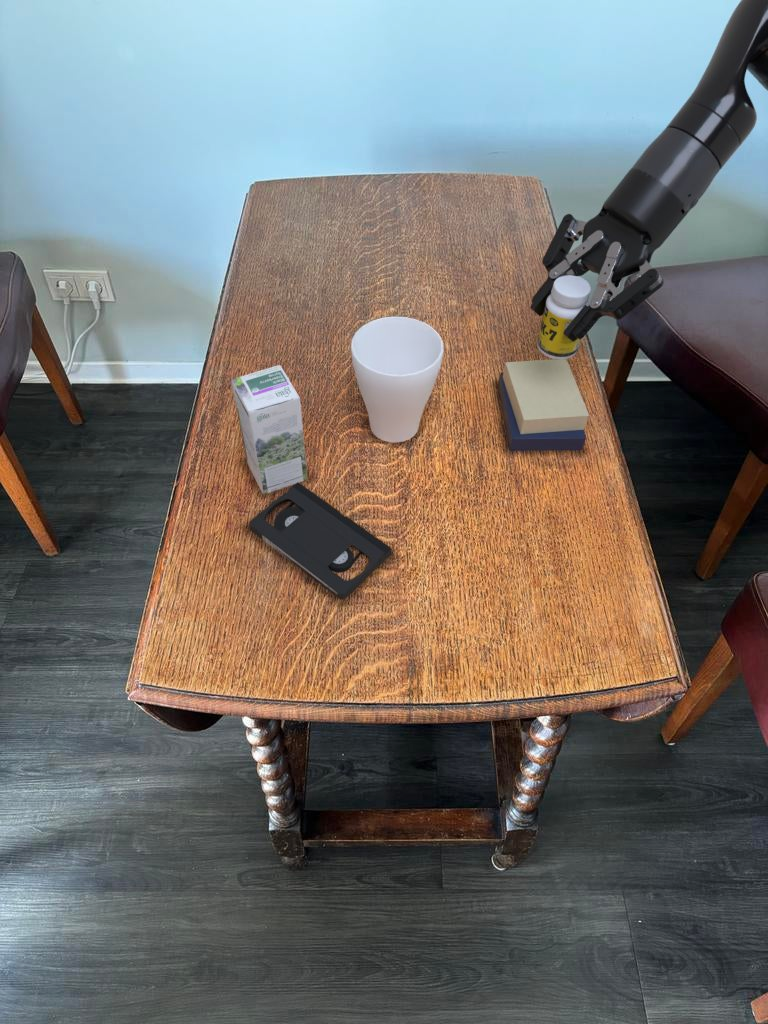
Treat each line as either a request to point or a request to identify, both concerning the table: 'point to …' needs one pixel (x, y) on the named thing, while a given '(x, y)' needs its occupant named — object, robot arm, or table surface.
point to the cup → (396, 373)
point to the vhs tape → (319, 540)
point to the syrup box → (271, 428)
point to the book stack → (542, 406)
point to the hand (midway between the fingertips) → (552, 324)
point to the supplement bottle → (562, 316)
